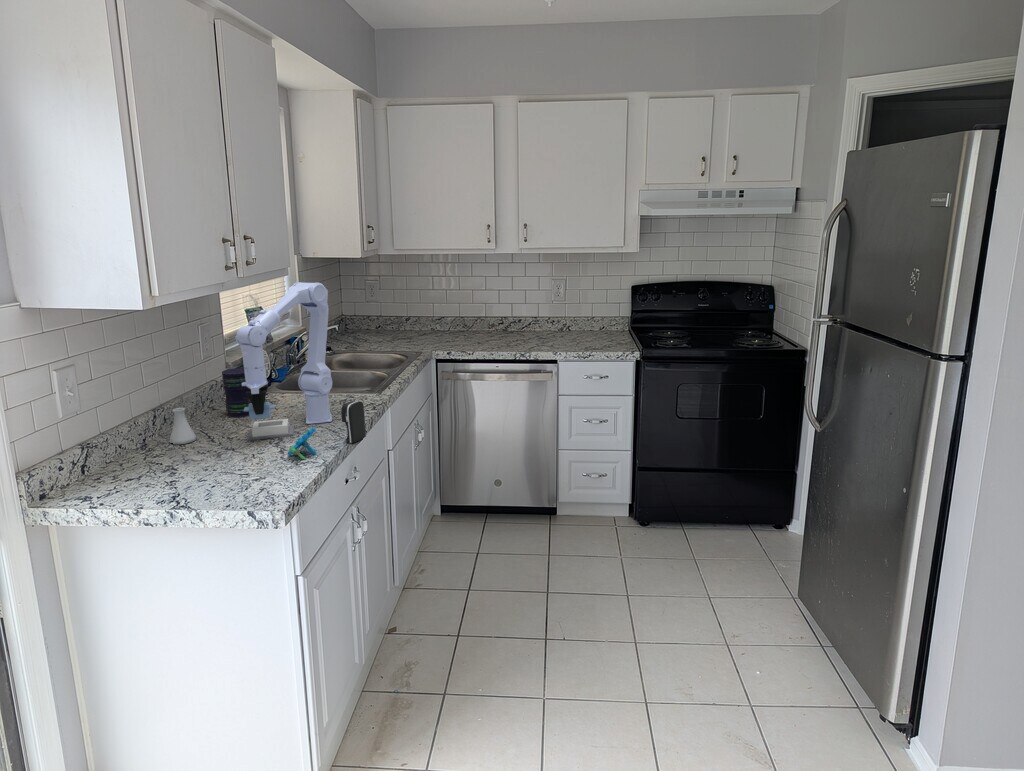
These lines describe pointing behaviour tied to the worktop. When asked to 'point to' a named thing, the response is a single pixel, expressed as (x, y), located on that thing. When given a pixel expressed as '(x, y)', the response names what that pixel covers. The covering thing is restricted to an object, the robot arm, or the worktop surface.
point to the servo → (265, 414)
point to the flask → (181, 428)
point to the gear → (302, 444)
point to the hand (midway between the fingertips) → (260, 412)
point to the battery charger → (354, 420)
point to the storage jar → (235, 392)
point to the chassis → (270, 429)
